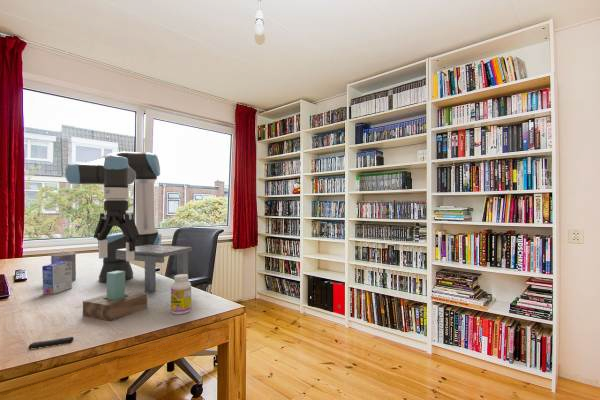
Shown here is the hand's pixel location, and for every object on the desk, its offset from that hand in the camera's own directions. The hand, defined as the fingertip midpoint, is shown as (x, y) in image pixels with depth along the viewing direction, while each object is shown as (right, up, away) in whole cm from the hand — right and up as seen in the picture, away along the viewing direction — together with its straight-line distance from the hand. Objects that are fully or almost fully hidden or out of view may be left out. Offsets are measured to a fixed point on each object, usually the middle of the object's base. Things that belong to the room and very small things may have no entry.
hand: (116, 259), depth 109 cm
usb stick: (-2, -19, -26) cm, 32 cm away
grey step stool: (+6, -19, +15) cm, 25 cm away
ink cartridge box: (-41, -19, +25) cm, 52 cm away
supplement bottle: (+24, -19, -1) cm, 30 cm away
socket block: (0, -18, 0) cm, 19 cm away
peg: (0, -18, 0) cm, 19 cm away
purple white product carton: (-52, -19, +42) cm, 70 cm away
